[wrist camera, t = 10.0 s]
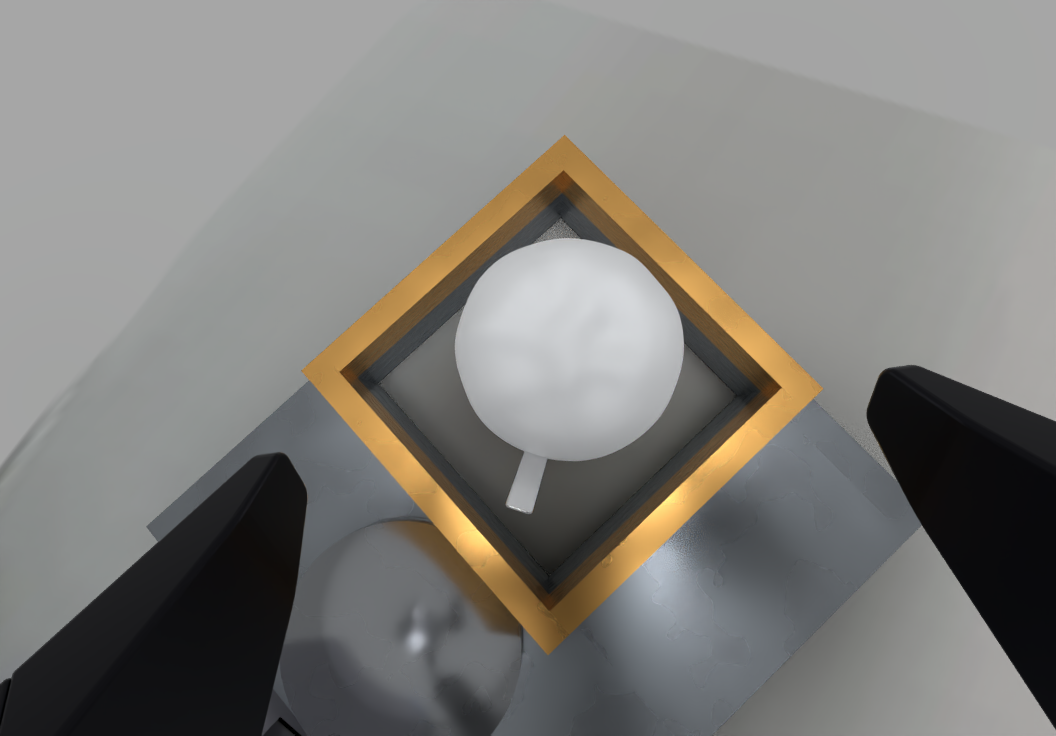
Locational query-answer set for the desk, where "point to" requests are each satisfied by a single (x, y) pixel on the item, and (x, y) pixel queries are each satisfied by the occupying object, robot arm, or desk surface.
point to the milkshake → (567, 354)
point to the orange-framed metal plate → (600, 562)
